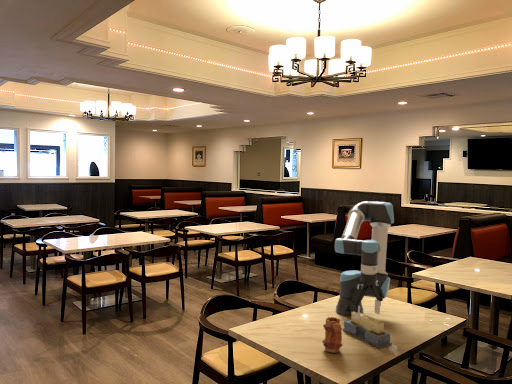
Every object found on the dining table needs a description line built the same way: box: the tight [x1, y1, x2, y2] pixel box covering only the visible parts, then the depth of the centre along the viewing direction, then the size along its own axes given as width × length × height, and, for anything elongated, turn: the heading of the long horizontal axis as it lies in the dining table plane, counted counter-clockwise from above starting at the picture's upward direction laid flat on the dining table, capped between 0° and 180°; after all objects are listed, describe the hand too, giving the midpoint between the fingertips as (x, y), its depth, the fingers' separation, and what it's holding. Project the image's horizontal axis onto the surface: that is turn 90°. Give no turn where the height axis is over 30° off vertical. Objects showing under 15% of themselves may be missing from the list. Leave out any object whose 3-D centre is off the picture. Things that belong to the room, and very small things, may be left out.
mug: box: [321, 316, 343, 353], centre depth 182 cm, size 15×8×15 cm, turn 5°
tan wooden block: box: [350, 312, 385, 335], centre depth 200 cm, size 18×4×9 cm, turn 31°
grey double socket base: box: [342, 319, 392, 350], centre depth 200 cm, size 24×8×5 cm, turn 31°
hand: (367, 315), depth 200 cm, fingers open, 13 cm apart
